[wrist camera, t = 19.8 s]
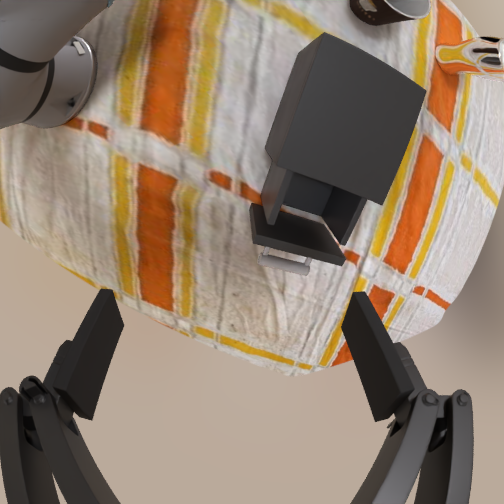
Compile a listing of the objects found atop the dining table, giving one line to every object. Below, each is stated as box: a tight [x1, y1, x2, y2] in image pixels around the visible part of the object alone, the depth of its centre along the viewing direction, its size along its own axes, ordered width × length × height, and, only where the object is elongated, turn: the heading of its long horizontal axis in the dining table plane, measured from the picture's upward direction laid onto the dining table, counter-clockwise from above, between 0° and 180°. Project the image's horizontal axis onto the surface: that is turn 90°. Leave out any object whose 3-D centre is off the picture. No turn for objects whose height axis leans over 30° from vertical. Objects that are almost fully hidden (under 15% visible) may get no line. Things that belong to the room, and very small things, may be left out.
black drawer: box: [249, 161, 367, 276], centre depth 33 cm, size 18×12×10 cm, turn 162°
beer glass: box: [435, 37, 504, 82], centre depth 20 cm, size 7×7×15 cm
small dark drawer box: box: [265, 32, 426, 205], centre depth 28 cm, size 15×13×12 cm
